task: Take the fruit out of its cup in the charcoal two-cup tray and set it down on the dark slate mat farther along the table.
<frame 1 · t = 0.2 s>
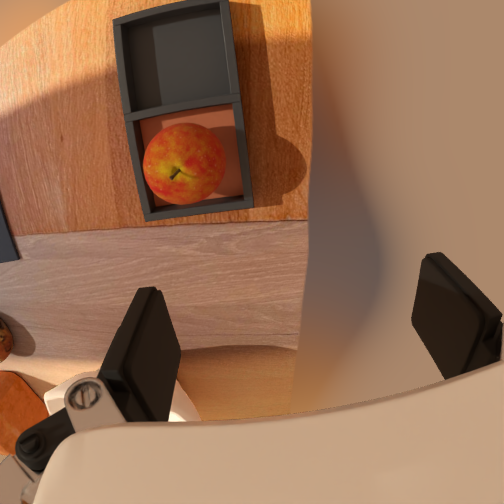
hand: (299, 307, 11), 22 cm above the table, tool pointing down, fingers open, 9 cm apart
fruit: (191, 156, 29), resting on tray
bread: (3, 389, 48), on the table
tray: (184, 106, 27), on the table
bowl: (145, 382, 43), on the table
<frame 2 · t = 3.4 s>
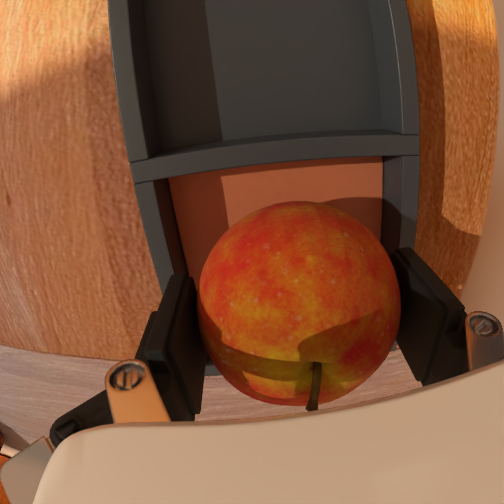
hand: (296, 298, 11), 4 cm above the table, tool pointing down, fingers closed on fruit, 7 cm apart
fruit: (285, 254, 14), resting on tray, touching gripper
tray: (275, 143, 12), on the table
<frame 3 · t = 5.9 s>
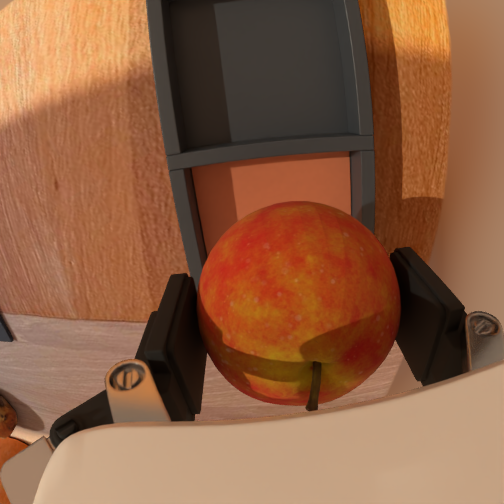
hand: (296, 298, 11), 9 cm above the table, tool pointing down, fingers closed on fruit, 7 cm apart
fruit: (285, 254, 14), point 5 cm above the table, touching gripper
bread: (8, 448, 37), on the table
tray: (269, 144, 17), on the table
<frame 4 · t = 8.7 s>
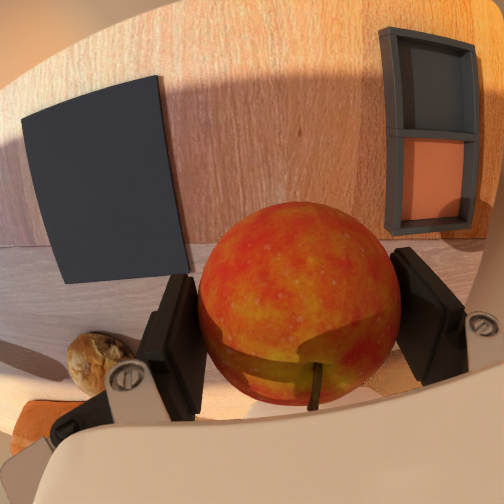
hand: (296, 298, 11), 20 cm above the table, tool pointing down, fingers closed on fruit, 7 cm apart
fruit: (286, 255, 14), point 16 cm above the table, touching gripper
bread: (85, 419, 47), on the table
bread roll: (105, 354, 39), on the table
tray: (430, 132, 27), on the table
mat: (98, 191, 29), on the table
bowl: (304, 396, 43), on the table
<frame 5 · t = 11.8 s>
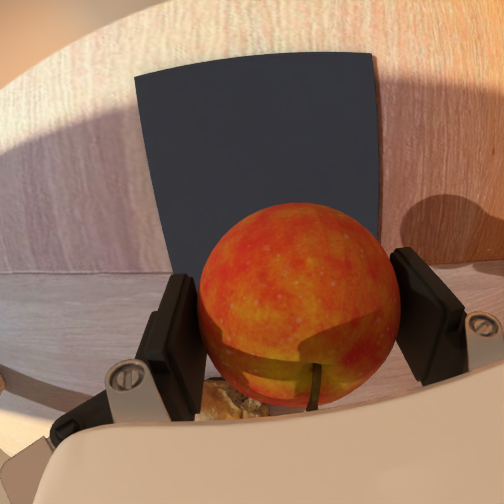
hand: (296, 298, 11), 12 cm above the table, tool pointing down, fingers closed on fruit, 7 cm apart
fruit: (286, 255, 14), point 9 cm above the table, touching gripper
bread roll: (223, 401, 32), on the table
mat: (270, 198, 22), on the table
when the fingers open (4 cm above the table, at t = 14.3 s): fruit stays where it is, resting on mat.
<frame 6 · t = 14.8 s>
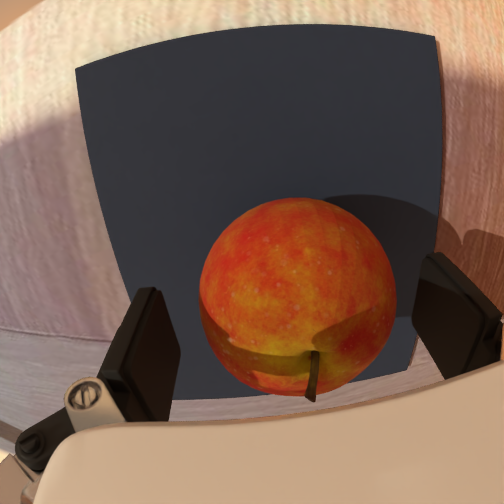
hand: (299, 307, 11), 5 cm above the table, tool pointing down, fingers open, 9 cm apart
fruit: (285, 250, 15), resting on mat
mat: (283, 250, 15), on the table
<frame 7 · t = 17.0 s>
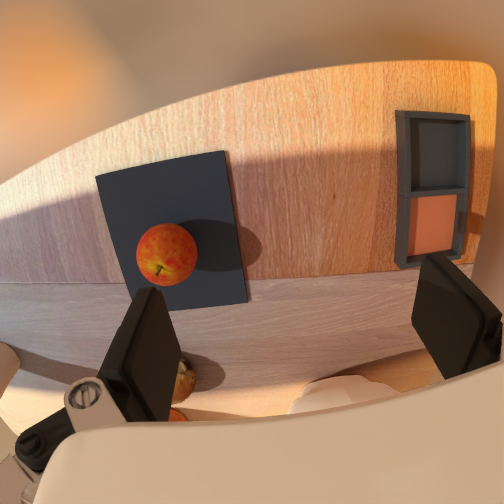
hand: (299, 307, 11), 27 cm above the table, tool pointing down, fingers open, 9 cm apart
fruit: (173, 241, 38), resting on mat
bread roll: (167, 369, 48), on the table
tray: (430, 188, 36), on the table
mat: (172, 241, 39), on the table
bowl: (330, 393, 52), on the table
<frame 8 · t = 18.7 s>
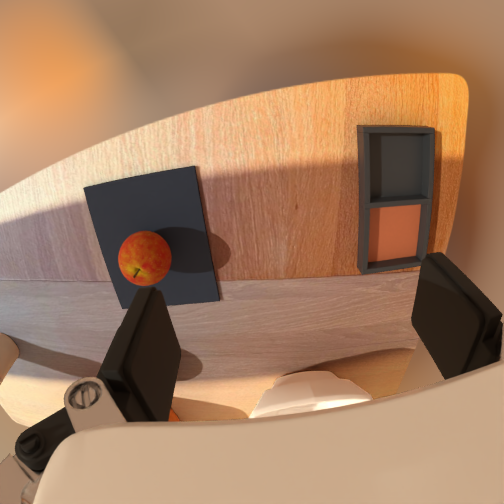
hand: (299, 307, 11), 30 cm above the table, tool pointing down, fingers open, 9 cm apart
fruit: (152, 245, 42), resting on mat
tray: (393, 198, 40), on the table
mat: (152, 245, 43), on the table
bowl: (302, 386, 57), on the table
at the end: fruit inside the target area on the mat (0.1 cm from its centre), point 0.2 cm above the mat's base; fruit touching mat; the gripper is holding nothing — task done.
